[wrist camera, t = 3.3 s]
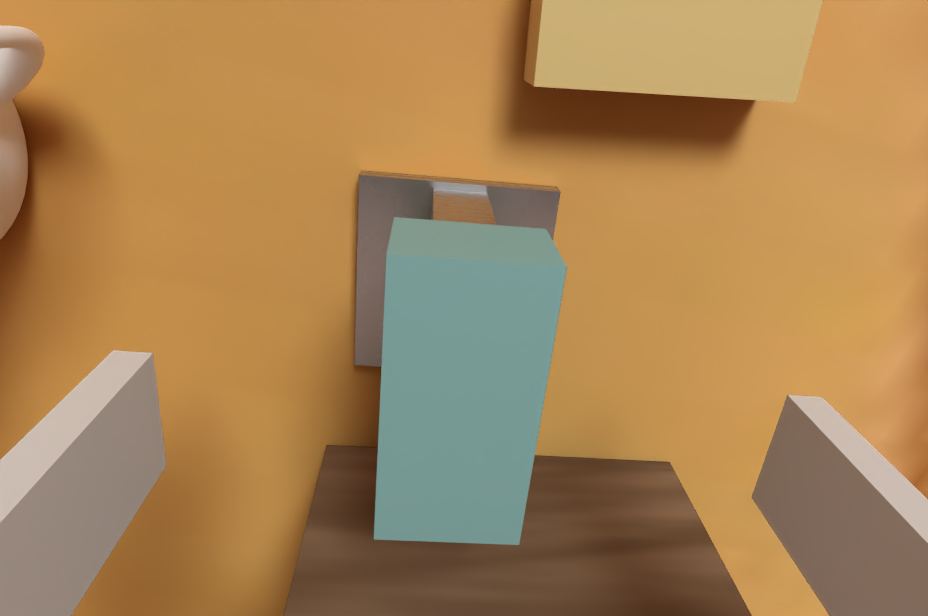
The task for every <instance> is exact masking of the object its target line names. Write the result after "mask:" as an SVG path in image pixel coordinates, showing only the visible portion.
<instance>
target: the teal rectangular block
mask: <svg viewBox="0 0 928 616" xmlns="http://www.w3.org/2000/svg"><path fill="white" fill-rule="evenodd" d="M566 270H567V266H566V264H565V263H564V261H563V259H562V257H561V255H560V253H559V251H558V250H557V248H556V246H555V244H554V242H553V240H552V238H551V237H550V235H549V233H548V231H547V229H540V228H528V227H515V226H502V225H489V224H476V223H464V222H451V221H438V220H425V219H412V218H400V217H394V220H393V225H392V230H391V235H390V240H389V245H388V250H387V256H386V278H385V301H384V323H383V345H382V367H381V389H380V412H379V434H378V456H377V478H376V500H375V523H374V540H401V541H427V542H453V543H480V544H506V545H519V543H520V537H521V531H522V525H523V520H524V514H525V508H526V502H527V496H528V491H529V485H530V479H531V473H532V467H533V462H534V456H535V450H536V444H537V438H538V433H539V427H540V421H541V415H542V409H543V404H544V398H545V392H546V386H547V380H548V375H549V369H550V363H551V357H552V351H553V346H554V340H555V334H556V328H557V322H558V317H559V311H560V305H561V299H562V293H563V288H564V282H565V276H566Z"/></svg>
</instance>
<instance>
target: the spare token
mask: <svg viewBox="0 0 928 616" xmlns="http://www.w3.org/2000/svg"><path fill="white" fill-rule="evenodd" d="M822 2H823V0H531V6H530V17H529V27H528V38H527V48H526V59H525V69H524V81H526V82H528V83H529V84H531V85H532V86H534V87H550V88H566V89H582V90H598V91H614V92H631V93H647V94H663V95H679V96H695V97H712V98H728V99H744V100H760V101H776V102H793V103H796V100H797V96H798V92H799V88H800V85H801V81H802V77H803V73H804V70H805V66H806V62H807V58H808V55H809V51H810V47H811V43H812V40H813V36H814V32H815V28H816V25H817V21H818V17H819V13H820V10H821V6H822Z"/></svg>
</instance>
